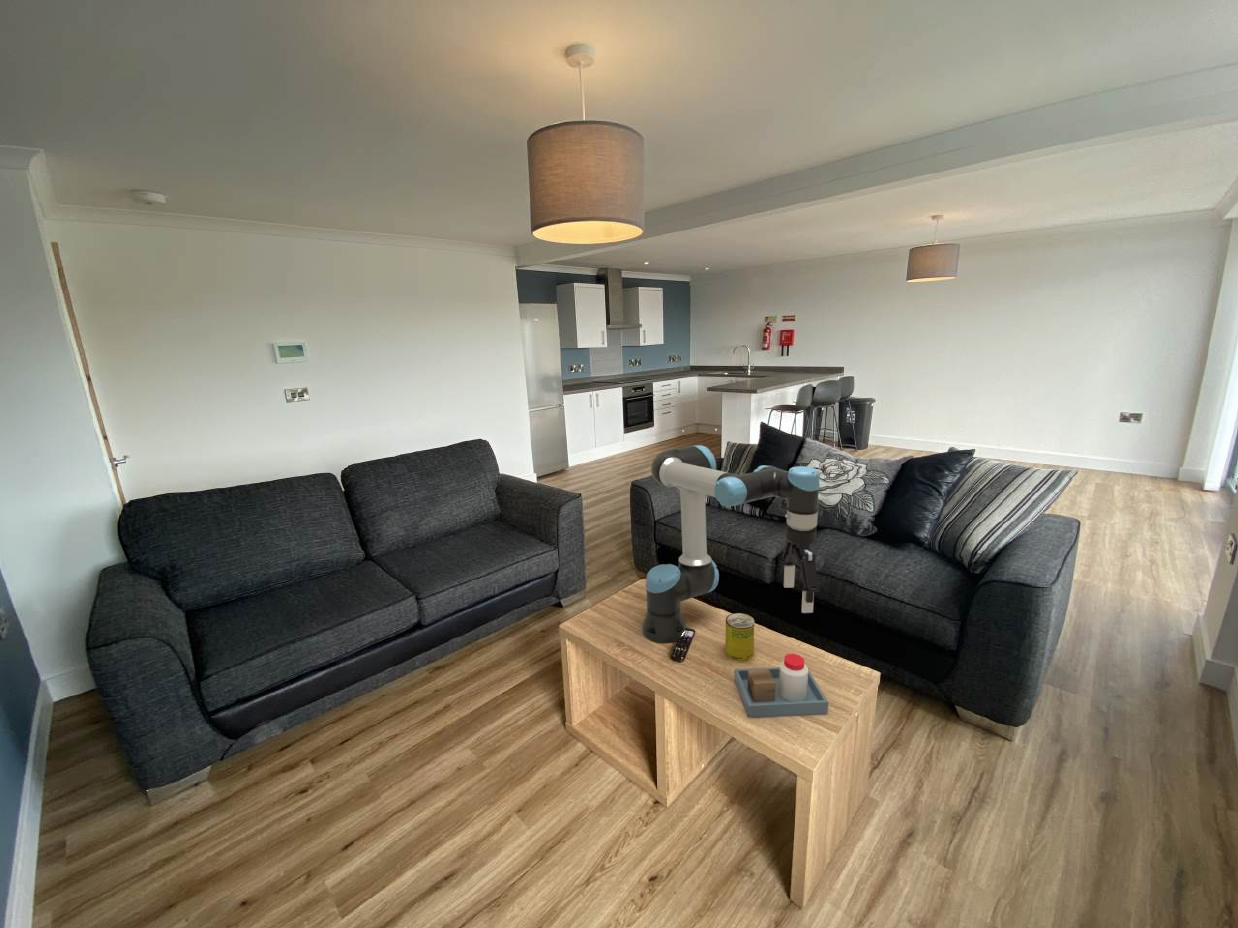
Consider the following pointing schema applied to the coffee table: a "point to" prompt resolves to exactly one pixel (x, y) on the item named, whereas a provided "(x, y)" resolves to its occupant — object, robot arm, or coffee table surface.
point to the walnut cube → (761, 685)
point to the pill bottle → (793, 678)
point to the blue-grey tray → (781, 698)
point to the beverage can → (739, 637)
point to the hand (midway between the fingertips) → (797, 598)
